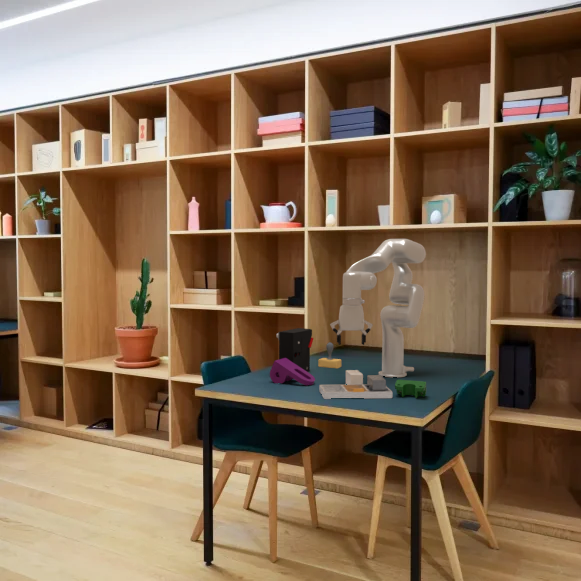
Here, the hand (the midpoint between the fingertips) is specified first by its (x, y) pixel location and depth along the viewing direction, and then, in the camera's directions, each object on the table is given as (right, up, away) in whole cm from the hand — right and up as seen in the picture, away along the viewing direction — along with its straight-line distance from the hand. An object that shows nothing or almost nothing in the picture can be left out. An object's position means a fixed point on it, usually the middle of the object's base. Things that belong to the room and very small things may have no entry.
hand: (351, 344), depth 254 cm
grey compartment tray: (0, -18, -13) cm, 23 cm away
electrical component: (-23, -16, +29) cm, 40 cm away
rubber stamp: (-6, -15, +48) cm, 51 cm away
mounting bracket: (-23, -18, +9) cm, 30 cm away
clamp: (+21, -19, -16) cm, 33 cm away
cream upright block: (+1, -18, +2) cm, 18 cm away
